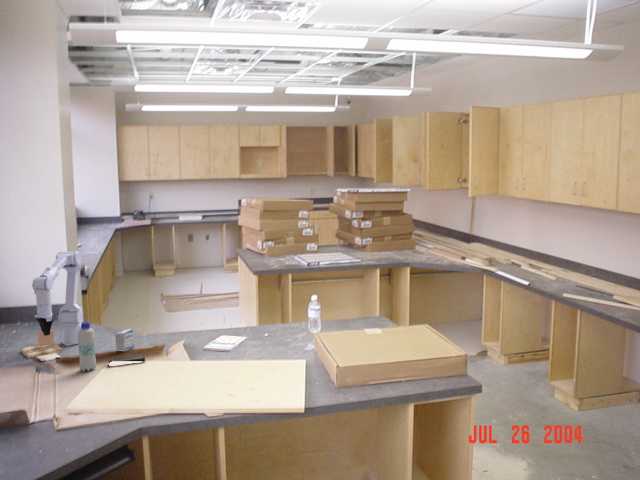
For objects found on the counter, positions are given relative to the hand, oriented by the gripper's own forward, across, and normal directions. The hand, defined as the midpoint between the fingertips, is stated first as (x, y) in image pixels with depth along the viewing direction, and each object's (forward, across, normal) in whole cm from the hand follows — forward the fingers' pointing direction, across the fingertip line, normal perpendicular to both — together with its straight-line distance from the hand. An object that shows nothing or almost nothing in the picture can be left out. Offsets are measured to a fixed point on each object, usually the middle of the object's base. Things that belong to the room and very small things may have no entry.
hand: (46, 334), depth 246 cm
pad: (+10, +1, 0) cm, 11 cm away
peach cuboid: (+5, 0, 0) cm, 5 cm away
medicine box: (+11, +12, +30) cm, 34 cm away
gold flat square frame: (+10, -11, 0) cm, 15 cm away
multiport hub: (+11, +32, +23) cm, 41 cm away
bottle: (+11, +29, +8) cm, 32 cm away
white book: (+11, +37, +68) cm, 78 cm away
